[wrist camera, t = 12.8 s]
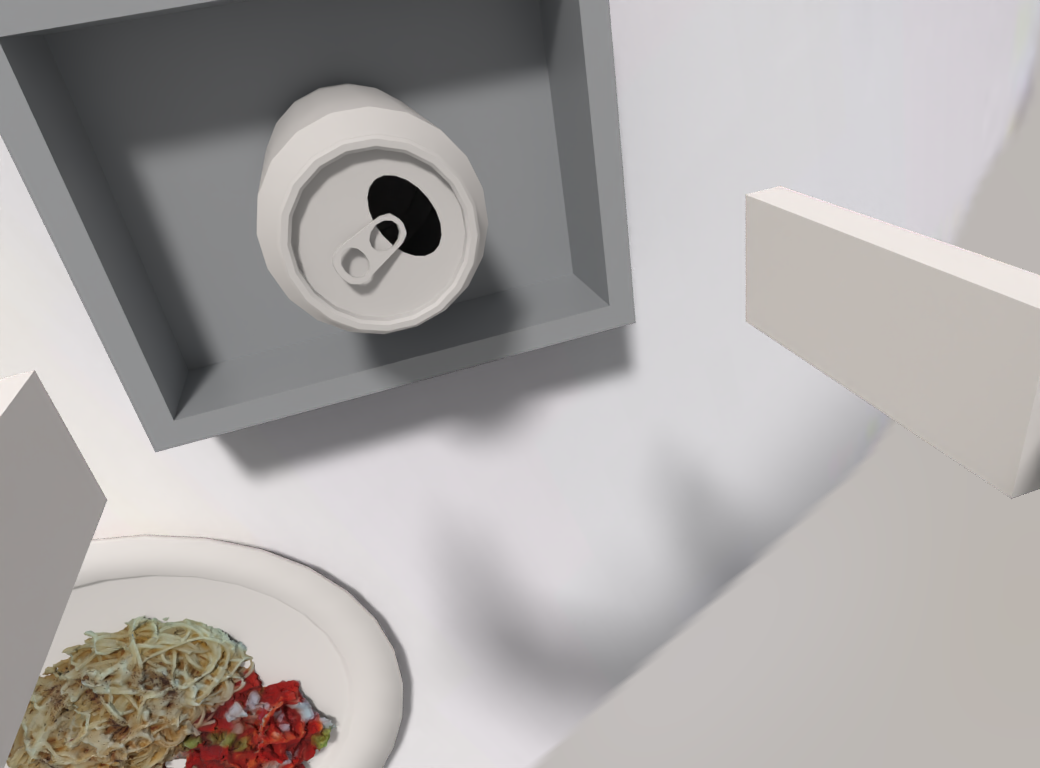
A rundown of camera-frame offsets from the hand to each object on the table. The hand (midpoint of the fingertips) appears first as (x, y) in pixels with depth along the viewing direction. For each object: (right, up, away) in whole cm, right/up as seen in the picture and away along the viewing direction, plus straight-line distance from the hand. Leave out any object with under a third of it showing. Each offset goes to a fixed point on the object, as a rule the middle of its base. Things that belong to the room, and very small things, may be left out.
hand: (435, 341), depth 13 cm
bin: (-6, +9, +20) cm, 23 cm away
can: (-6, +9, +19) cm, 22 cm away
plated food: (-21, -21, +31) cm, 43 cm away
